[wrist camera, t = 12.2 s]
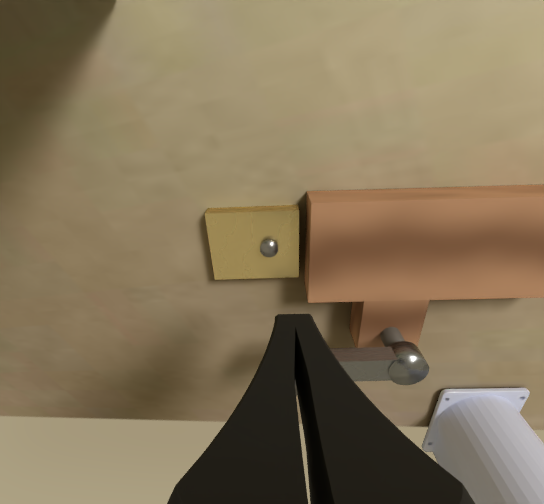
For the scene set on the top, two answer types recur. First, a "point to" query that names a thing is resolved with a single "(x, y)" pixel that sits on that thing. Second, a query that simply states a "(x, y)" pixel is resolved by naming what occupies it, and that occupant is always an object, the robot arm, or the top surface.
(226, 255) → the wooden block with bolt
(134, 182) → the top surface
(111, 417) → the top surface
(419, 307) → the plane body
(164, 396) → the top surface
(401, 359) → the lever
